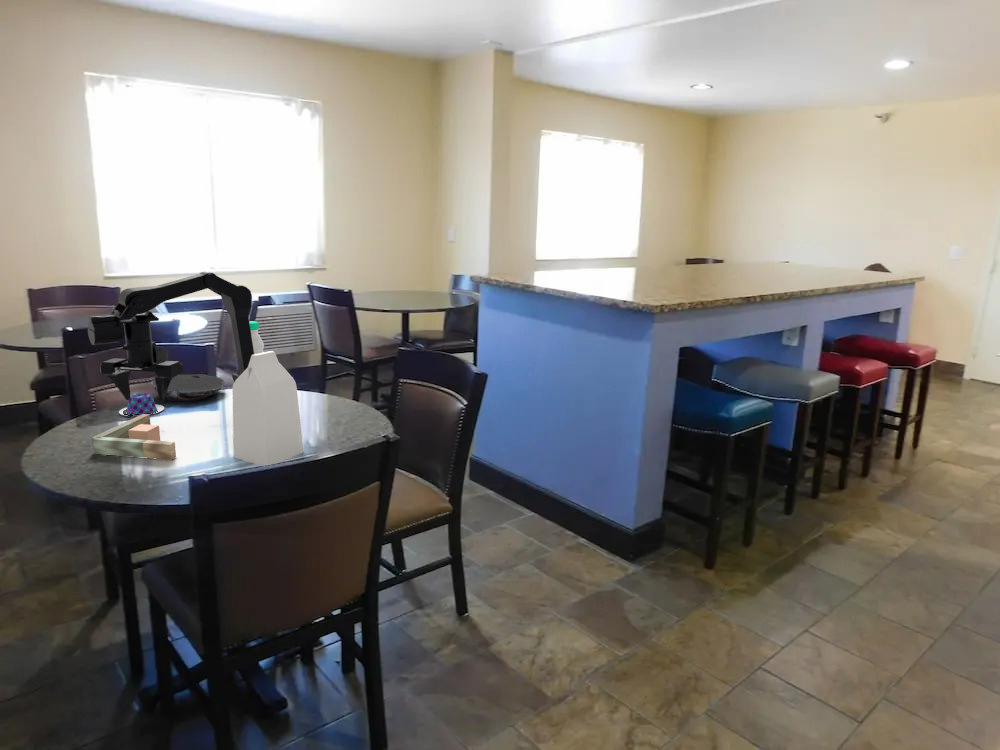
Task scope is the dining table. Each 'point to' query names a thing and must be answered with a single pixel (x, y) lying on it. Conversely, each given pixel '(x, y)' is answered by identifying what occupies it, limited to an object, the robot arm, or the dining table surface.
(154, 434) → the cube
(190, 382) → the board
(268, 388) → the milk
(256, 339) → the water bottle
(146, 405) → the pudding
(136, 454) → the arena
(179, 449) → the dining table surface
